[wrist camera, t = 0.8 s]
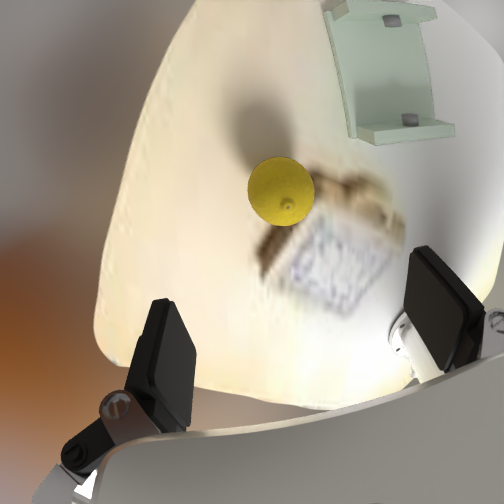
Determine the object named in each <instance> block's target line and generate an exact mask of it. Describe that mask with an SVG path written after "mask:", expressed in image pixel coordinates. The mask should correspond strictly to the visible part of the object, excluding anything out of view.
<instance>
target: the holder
mask: <svg viewBox="0 0 504 504" xmlns="http://www.w3.org/2000/svg"><path fill="white" fill-rule="evenodd" d="M323 16H324V19H325V23H326V27H327V30H328V34H329V38H330V42H331V46H332V50H333V55H334V59H335V63H336V68H337V72H338V77H339V82H340V87H341V92H342V97H343V103H344V108H345V114H346V120H347V126H348V133H349V137H350V138H352V139H354V138H359V139H361V140H363V141H366V142H368V143H370V144H372V145H375V146H378V145H385V144H392V143H400V142H408V141H417V140H426V139H436V138H447V137H455V130H454V124H450V123H447V122H443V121H439V120H435V117H434V107H433V98H432V90H431V83H430V77H429V71H428V65H427V59H426V54H425V49H424V44H423V40H422V35H421V31H420V27H419V23H421V22H425V21H430V20H434V19H437V16H436V12H435V9H434V7H429V6H423V5H416V4H409V3H400V2H390V1H376V0H345V1H343V2H342V3H340V4H339V5H338V6H336V7H335V8H334V9H332V10H331V11H325V12H324V13H323Z"/></svg>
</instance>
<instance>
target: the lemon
mask: <svg viewBox="0 0 504 504" xmlns="http://www.w3.org/2000/svg"><path fill="white" fill-rule="evenodd" d="M314 194H315V190H314V185H313V181H312V179H311V177H310V175H309V173H308V171H307V170H306V169H305V168H304V167H303V166H302V165H301V164H299V163H298V162H296V161H295V160H292V159H289V158H286V157H274V158H269V159H267V160H265V161H263V162H262V163H260V164H259V165H258V166H257V167H256V168H255V169H254V171H253V172H252V174H251V176H250V179H249V182H248V197H249V201H250V203H251V205H252V208H253V209H254V210H255V212H256V213H257V214H258V215H259V216H260V217H261V218H262V219H264V220H265V221H266V222H268V223H271V224H273V225H279V226H289V225H292V224H295V223H297V222H299V221H301V220H302V219H303V218H304V217H305V216H306V215H307V214H308V213H309V211H310V210H311V208H312V205H313V202H314Z"/></svg>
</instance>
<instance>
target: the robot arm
mask: <svg viewBox="0 0 504 504" xmlns="http://www.w3.org/2000/svg"><path fill="white" fill-rule="evenodd" d="M403 306H404V311H405V312H403V313H402V315H401V316H400V317H399V318H398V319H397V321H396V322H395V324H394V326H393V328H392V330H391V332H390V336H389V343H390V346H391V348H392V350H393V351H394V352H395V353H396V354H397V355H400V356H407V358H408V359H409V361H410V363H411V365H412V366H411V370H410V376H411V377H413V378H417V377H418V379H419V382H420V384H418V385H415V386H412V387H410V388H407V389H404V390H401V391H398V392H395V393H392V394H389V395H386V396H383V397H379V398H376V399H373V400H370V401H366V402H363V403H359V404H355V405H352V406H348V407H344V408H340V409H336V410H332V411H328V412H323V413H319V414H315V415H310V416H305V417H300V418H295V419H289V420H284V421H277V422H272V423H265V424H258V425H250V426H242V427H233V428H223V429H213V430H201V431H186V427H189V426H190V423H191V412H192V399H193V388H194V376H195V366H196V349H195V346H194V344H193V342H192V340H191V338H190V336H189V334H188V331H187V329H186V327H185V325H184V323H183V321H182V318H181V316H180V314H179V312H178V310H177V307H176V305H175V303H174V302H173V301H169V299H168V298H164V299H158V300H153V302H152V304H151V307H150V310H149V313H148V317H147V320H146V323H145V326H144V330H143V333H142V335H141V336H140V337H139V339H138V341H137V344H136V348H135V351H134V355H133V358H132V362H131V365H130V369H129V373H128V376H127V380H126V384H125V387H124V390H115V391H113V392H111V393H109V394H108V395H106V396H105V397H104V398H103V400H102V401H101V403H100V406H99V414H100V418H98V419H97V420H96V421H95V422H93V423H92V424H90V425H89V426H88V427H87V428H85V429H84V430H82V431H81V432H80V433H78V434H77V435H76V436H74V437H73V438H72V439H70V440H69V441H68V442H67V443H66V444H65V445H64V447H63V449H62V452H61V461H62V463H61V464H60V465H59V464H56V465H55V466H54V467H53V469H52V470H51V471H50V473H49V474H48V475H47V476H46V478H45V479H44V480H43V482H42V483H41V484H40V486H39V487H38V488H37V490H36V491H35V492H34V495H33V497H32V503H33V504H504V310H503V309H491V310H490V311H488V312H487V313H486V312H485V311H484V306H483V305H482V304H481V302H480V301H479V300H478V299H477V298H476V296H475V295H474V294H473V293H472V292H471V291H470V290H469V288H468V287H467V286H466V285H465V284H464V283H463V282H462V281H461V280H460V278H459V277H458V276H457V275H456V274H455V273H454V272H453V271H452V270H451V269H450V268H449V267H448V266H447V265H446V263H445V262H444V261H443V260H442V259H441V258H440V257H439V256H438V255H437V254H436V253H435V252H434V251H433V250H432V249H431V248H430V247H429V246H427V245H425V246H421V247H417V248H414V250H413V252H412V253H410V258H409V267H408V275H407V283H406V290H405V297H404V304H403Z"/></svg>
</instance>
